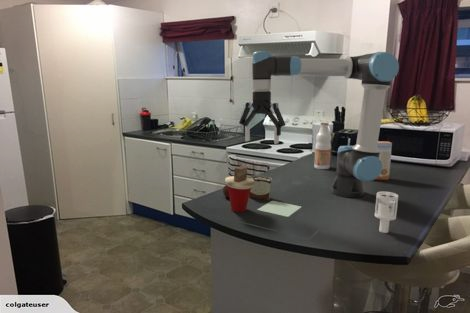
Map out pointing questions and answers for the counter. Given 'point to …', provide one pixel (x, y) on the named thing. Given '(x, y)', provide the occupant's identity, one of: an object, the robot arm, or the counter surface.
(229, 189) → the plastic cup
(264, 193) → the food container
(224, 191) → the potato
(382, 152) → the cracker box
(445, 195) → the counter surface
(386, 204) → the white stepped cylinder
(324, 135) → the fruit juice
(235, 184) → the lid
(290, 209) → the mat
